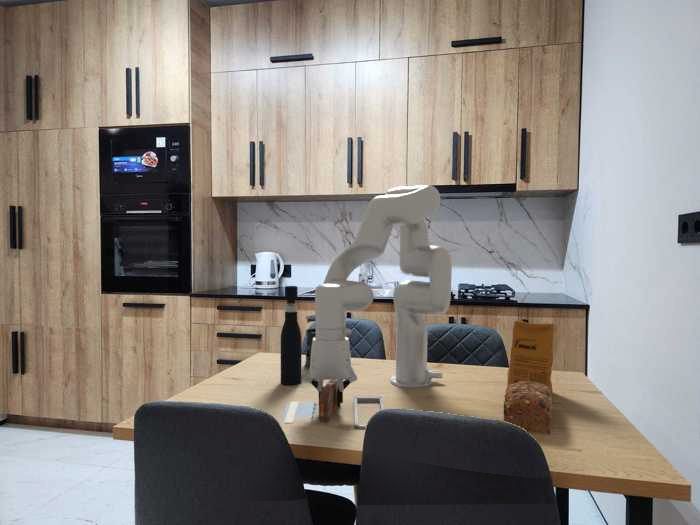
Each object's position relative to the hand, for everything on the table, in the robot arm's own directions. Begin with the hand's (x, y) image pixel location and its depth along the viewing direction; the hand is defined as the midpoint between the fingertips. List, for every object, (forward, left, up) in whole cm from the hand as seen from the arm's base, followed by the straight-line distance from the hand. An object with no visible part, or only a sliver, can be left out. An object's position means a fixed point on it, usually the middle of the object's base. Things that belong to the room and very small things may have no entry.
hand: (330, 404), depth 119 cm
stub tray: (-10, +1, -3) cm, 10 cm away
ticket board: (+8, 0, -3) cm, 8 cm away
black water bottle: (+13, -27, -3) cm, 30 cm away
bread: (-48, +5, -4) cm, 48 cm away
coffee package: (-56, -15, -3) cm, 58 cm away
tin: (0, 0, -3) cm, 3 cm away
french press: (+6, -49, -3) cm, 50 cm away
